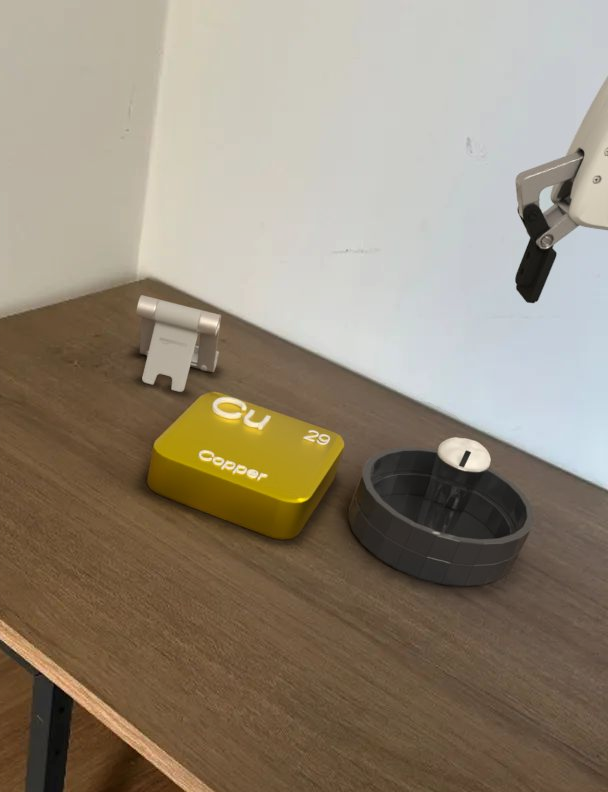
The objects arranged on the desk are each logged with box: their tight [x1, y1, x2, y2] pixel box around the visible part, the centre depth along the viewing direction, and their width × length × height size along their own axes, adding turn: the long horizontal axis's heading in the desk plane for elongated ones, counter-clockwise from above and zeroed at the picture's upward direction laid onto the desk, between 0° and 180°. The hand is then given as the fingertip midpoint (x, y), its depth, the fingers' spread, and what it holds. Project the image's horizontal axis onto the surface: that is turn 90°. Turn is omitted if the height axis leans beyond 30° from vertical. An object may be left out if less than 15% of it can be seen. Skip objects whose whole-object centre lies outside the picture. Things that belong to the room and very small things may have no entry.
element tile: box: [146, 391, 345, 541], centre depth 90 cm, size 15×15×5 cm
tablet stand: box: [135, 294, 222, 393], centre depth 104 cm, size 9×8×8 cm
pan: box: [347, 446, 536, 587], centre depth 87 cm, size 15×15×5 cm
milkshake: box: [417, 436, 491, 535], centre depth 85 cm, size 5×5×10 cm
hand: (584, 303), depth 75 cm, fingers open, 9 cm apart
